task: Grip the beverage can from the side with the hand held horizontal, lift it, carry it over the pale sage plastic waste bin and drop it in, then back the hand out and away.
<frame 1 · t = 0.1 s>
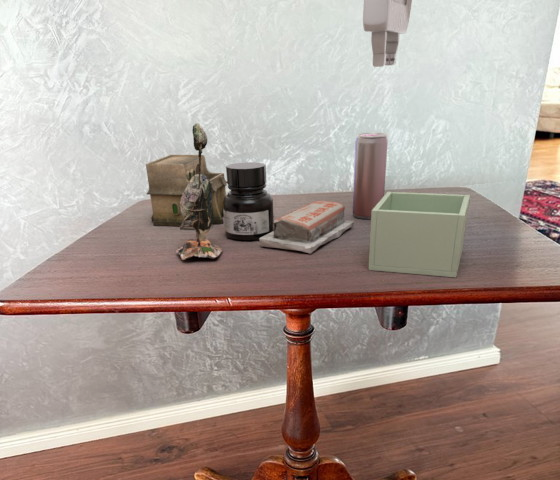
hand: (384, 66, 89), 26 cm above the table, tool pointing down, fingers open, 8 cm apart
ink bottle: (250, 235, 99), on the table
plant with pod: (200, 254, 91), on the table
beverage can: (367, 216, 108), on the table
miniature house: (190, 220, 110), on the table
waste bin: (417, 260, 84), on the table
packaged product: (309, 238, 97), on the table
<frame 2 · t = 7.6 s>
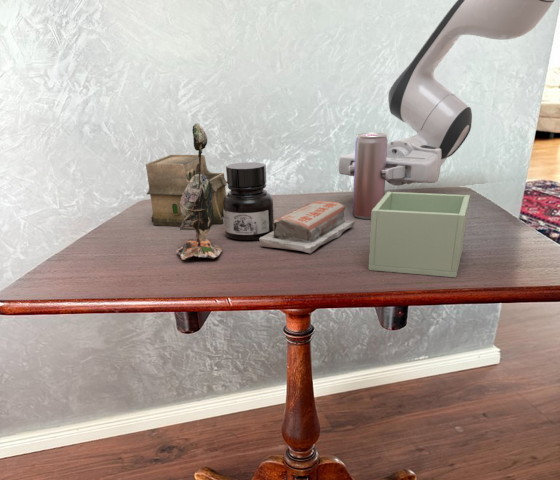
hand: (367, 173, 103), 8 cm above the table, tool horizontal, fingers closed on beverage can, 6 cm apart
beverage can: (367, 216, 108), on the table, touching gripper
everything else where it was.
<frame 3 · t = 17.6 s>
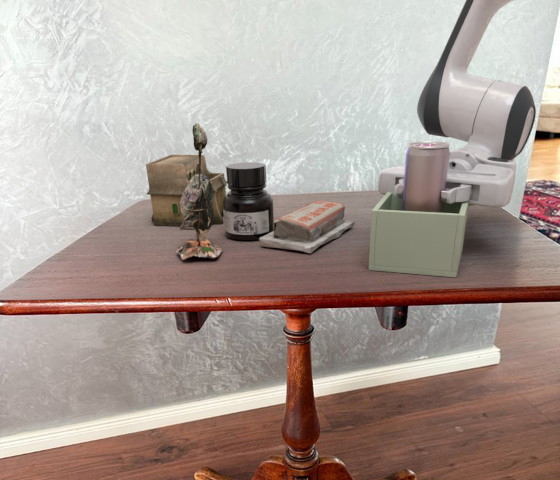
hand: (421, 194, 78), 10 cm above the table, tool horizontal, fingers closed on beverage can, 6 cm apart
beverage can: (418, 250, 83), point 2 cm above the table, touching gripper
everything else where it was.
when the fingers open (13 cm above the table, at t = 34.8 s): beverage can drops 3 cm, resting on waste bin.
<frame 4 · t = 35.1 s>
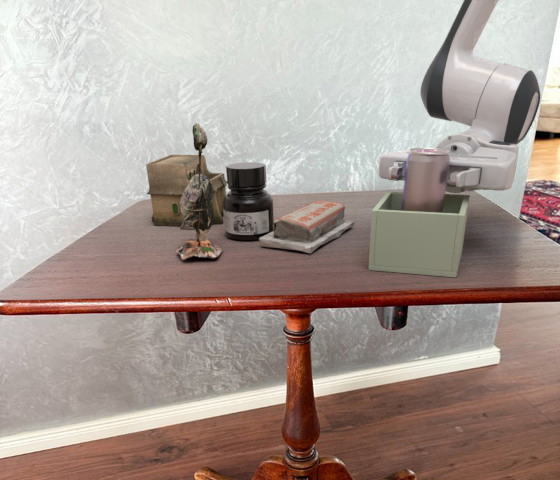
hand: (422, 177, 77), 12 cm above the table, tool horizontal, fingers open, 8 cm apart
beverage can: (415, 255, 84), point 1 cm above the table, touching waste bin
everything else where it was.
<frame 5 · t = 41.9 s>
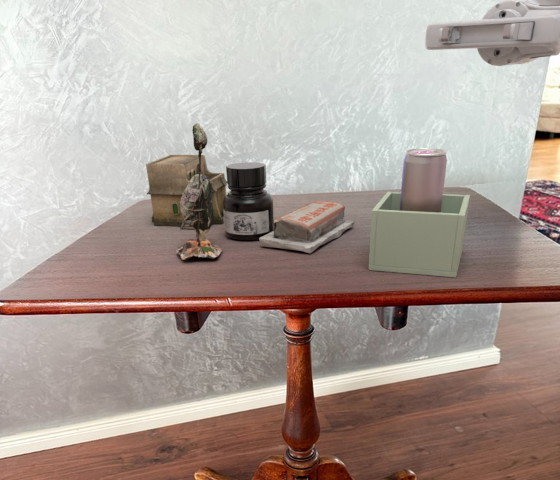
hand: (474, 33, 77), 30 cm above the table, tool horizontal, fingers open, 8 cm apart
nothing on the table moved.
at the end: beverage can inside the target area in the waste bin (0.3 cm from its centre), point 0.6 cm above the waste bin's base; the gripper is holding nothing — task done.
